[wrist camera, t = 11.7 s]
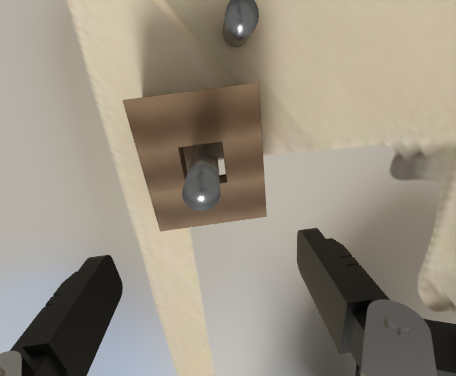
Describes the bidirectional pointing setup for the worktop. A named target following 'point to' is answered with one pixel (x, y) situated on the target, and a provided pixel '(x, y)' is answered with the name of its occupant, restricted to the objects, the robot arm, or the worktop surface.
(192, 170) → the long pin
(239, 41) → the short pin
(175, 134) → the wooden square-hole block
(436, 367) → the robot arm
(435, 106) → the worktop surface
